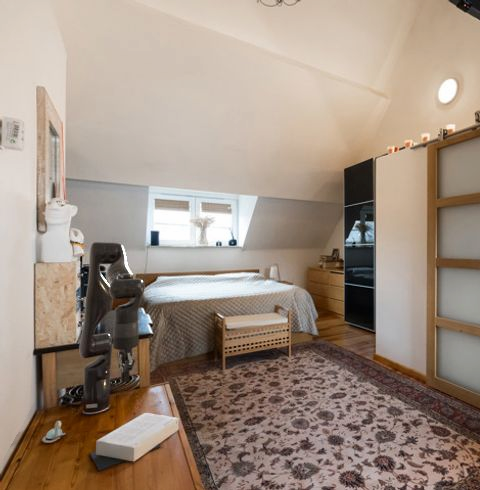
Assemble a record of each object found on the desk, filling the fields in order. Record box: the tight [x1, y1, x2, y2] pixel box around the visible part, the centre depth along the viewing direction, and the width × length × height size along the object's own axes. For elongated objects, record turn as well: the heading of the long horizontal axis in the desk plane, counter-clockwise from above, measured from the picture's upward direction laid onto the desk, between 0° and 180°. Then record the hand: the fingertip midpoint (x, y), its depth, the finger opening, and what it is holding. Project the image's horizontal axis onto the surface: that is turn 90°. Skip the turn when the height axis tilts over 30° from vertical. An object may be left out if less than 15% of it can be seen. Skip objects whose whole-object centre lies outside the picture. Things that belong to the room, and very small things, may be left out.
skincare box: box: [95, 412, 180, 462], centre depth 130 cm, size 21×6×16 cm
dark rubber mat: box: [89, 444, 161, 472], centre depth 125 cm, size 13×18×1 cm
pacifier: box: [41, 420, 66, 444], centre depth 131 cm, size 7×6×6 cm
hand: (125, 381), depth 127 cm, fingers closed
